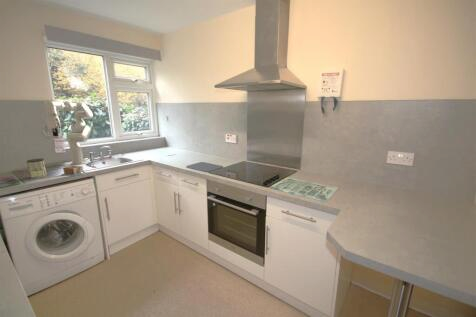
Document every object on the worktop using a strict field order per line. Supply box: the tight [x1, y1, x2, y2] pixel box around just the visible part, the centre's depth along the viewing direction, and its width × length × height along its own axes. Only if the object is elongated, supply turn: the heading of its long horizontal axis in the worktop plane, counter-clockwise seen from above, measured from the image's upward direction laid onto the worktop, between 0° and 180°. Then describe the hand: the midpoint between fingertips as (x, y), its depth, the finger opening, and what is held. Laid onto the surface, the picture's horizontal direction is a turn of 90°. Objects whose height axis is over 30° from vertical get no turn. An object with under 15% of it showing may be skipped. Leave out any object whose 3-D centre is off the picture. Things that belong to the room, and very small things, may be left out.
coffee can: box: [26, 158, 48, 179], centre depth 179 cm, size 10×10×14 cm
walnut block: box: [62, 165, 85, 174], centre depth 188 cm, size 8×5×12 cm
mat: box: [61, 172, 85, 177], centre depth 188 cm, size 14×14×1 cm
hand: (55, 136), depth 196 cm, fingers closed
